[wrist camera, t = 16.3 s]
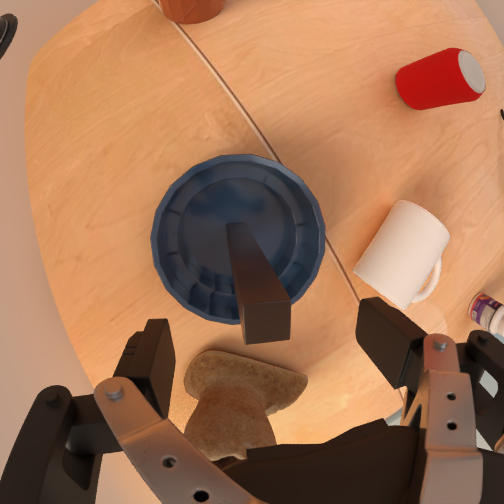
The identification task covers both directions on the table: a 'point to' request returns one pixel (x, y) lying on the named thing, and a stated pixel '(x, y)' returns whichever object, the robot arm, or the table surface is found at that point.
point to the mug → (404, 254)
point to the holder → (191, 10)
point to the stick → (257, 289)
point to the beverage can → (440, 80)
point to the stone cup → (236, 403)
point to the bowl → (215, 236)
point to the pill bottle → (487, 313)
